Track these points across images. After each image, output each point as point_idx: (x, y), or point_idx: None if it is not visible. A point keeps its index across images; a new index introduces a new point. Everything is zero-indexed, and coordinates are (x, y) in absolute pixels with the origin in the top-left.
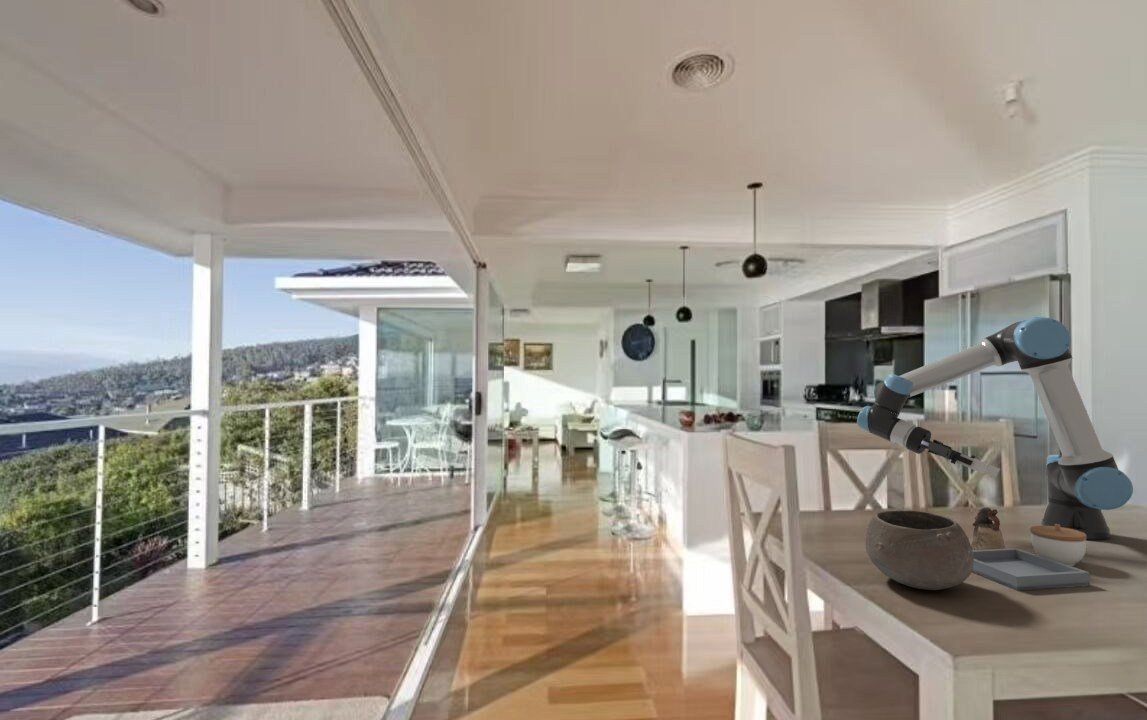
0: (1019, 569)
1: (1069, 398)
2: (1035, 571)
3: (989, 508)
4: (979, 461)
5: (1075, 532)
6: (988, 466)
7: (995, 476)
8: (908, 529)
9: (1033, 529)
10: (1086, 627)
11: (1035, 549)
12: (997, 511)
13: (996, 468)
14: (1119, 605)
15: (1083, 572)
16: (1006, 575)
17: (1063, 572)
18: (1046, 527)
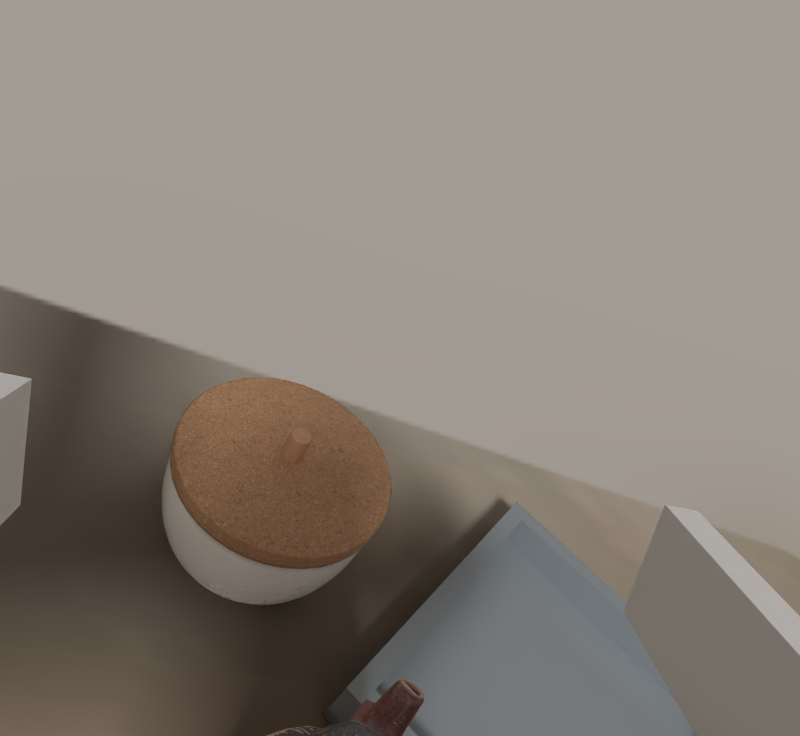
0: (526, 708)
1: None
2: (505, 653)
3: (363, 731)
4: (751, 572)
5: (291, 404)
6: (663, 521)
7: (18, 493)
8: None
9: (327, 548)
10: (795, 611)
11: (288, 600)
12: (405, 680)
13: (10, 404)
14: (598, 510)
15: (531, 517)
16: None
17: (580, 570)
18: (249, 482)
